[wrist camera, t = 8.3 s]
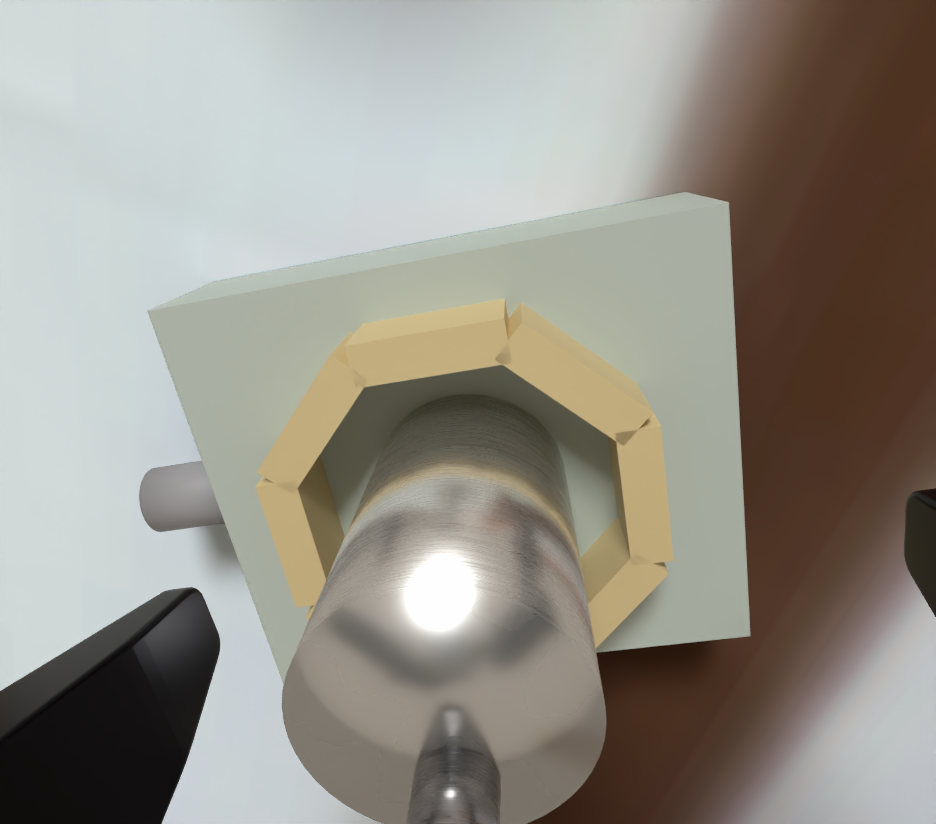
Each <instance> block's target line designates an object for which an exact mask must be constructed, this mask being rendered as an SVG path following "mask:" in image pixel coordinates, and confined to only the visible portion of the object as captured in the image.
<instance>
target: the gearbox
mask: <svg viewBox="0 0 936 824" xmlns="http://www.w3.org/2000/svg"><path fill="white" fill-rule="evenodd" d="M148 314H149V317H150V319H151V322H152V325H153V328H154V330H155V333H156V336H157V339H158V341H159V344H160V347H161V350H162V352H163V355H164V358H165V361H166V363H167V366H168V369H169V372H170V374H171V377H172V380H173V382H174V385H175V388H176V391H177V393H178V396H179V399H180V402H181V404H182V407H183V410H184V413H185V415H186V418H187V421H188V424H189V426H190V429H191V432H192V434H193V437H194V440H195V443H196V445H197V448H198V451H199V454H200V456H201V459H202V461H197V462H190V463H184V464H177V465H171V466H165V467H158V468H153V469H151V470H149V471H148V472H147V473H146V474H145V476H144V478H143V480H142V482H141V486H140V493H139V500H140V507H141V511H142V514H143V517H144V519H145V521H146V522H147V524H148V525H149V526H150V527H151V528H152V529H153V530H155V531H158V532H164V531H171V530H178V529H185V528H192V527H199V526H206V525H213V524H220V523H225V525H226V528H227V530H228V533H229V536H230V539H231V541H232V544H233V547H234V549H235V552H236V555H237V558H238V560H239V563H240V566H241V569H242V571H243V574H244V577H245V580H246V582H247V585H248V588H249V591H250V593H251V596H252V599H253V601H254V604H255V607H256V610H257V612H258V615H259V618H260V621H261V623H262V626H263V629H264V632H265V634H266V637H267V640H268V643H269V645H270V648H271V651H272V653H273V656H274V659H275V662H276V664H277V667H278V670H279V673H280V675H281V678H282V681H283V684H284V682H285V677H286V673H287V671H288V668H289V666H290V664H291V661H292V659H293V656H294V654H295V652H296V649H297V647H298V645H299V642H300V640H301V638H302V635H303V633H304V631H305V629H306V626H307V624H308V622H309V619H310V617H311V615H312V612H313V610H314V608H315V605H316V603H317V601H318V598H319V596H320V594H321V591H322V589H323V587H324V584H325V582H326V580H327V577H328V575H329V573H330V570H331V568H332V566H333V563H334V561H335V559H336V556H337V554H338V552H339V549H340V547H341V545H342V542H343V540H344V538H345V535H346V533H347V531H348V528H349V526H350V524H351V522H352V519H353V517H354V515H355V512H356V510H357V508H358V505H359V503H360V501H361V498H362V496H363V494H364V491H365V489H366V487H367V484H368V482H369V480H370V477H371V475H372V473H373V470H374V468H375V466H376V463H377V461H378V459H379V456H380V454H381V452H382V449H383V447H384V445H385V442H386V441H387V439H388V437H389V436H390V434H391V432H392V431H393V430H394V428H395V427H396V426H397V425H398V424H399V422H401V421H402V420H403V419H404V418H405V417H406V416H407V415H408V414H410V413H411V412H413V411H414V410H415V409H417V408H419V407H420V406H422V405H424V404H426V403H428V402H431V401H434V400H436V399H439V398H443V397H447V396H452V395H461V394H479V395H485V396H492V397H495V398H499V399H502V400H505V401H508V402H510V403H512V404H515V405H517V406H518V407H520V408H522V409H524V410H525V411H527V412H528V413H529V414H531V415H532V416H533V417H535V418H536V419H537V420H538V421H539V422H540V423H541V424H542V425H543V426H544V427H545V428H546V429H547V431H548V432H549V433H550V435H551V436H552V437H553V439H554V441H555V443H556V444H557V446H558V448H559V451H560V453H561V456H562V459H563V463H564V467H565V473H566V479H567V484H568V490H569V496H570V502H571V508H572V514H573V520H574V526H575V531H576V537H577V543H578V549H579V555H580V561H581V567H582V573H583V578H584V584H585V590H586V596H587V602H588V608H589V614H590V619H591V625H592V631H593V637H594V643H595V649H596V653H598V652H607V651H616V650H625V649H635V648H644V647H653V646H662V645H672V644H681V643H690V642H699V641H708V640H718V639H727V638H736V637H745V636H750V620H749V600H748V580H747V560H746V540H745V520H744V500H743V480H742V460H741V440H740V420H739V399H738V379H737V359H736V339H735V319H734V299H733V279H732V259H731V239H730V219H729V202H725V201H721V200H717V199H712V198H708V197H704V196H700V195H695V194H691V193H687V192H683V193H677V194H672V195H667V196H661V197H656V198H651V199H646V200H640V201H635V202H630V203H625V204H619V205H614V206H609V207H604V208H598V209H593V210H588V211H583V212H577V213H572V214H567V215H562V216H556V217H551V218H546V219H541V220H535V221H530V222H525V223H519V224H514V225H509V226H504V227H498V228H493V229H488V230H483V231H477V232H472V233H467V234H462V235H456V236H451V237H446V238H441V239H435V240H430V241H425V242H420V243H414V244H409V245H404V246H399V247H393V248H388V249H383V250H378V251H372V252H367V253H362V254H356V255H351V256H346V257H341V258H335V259H330V260H325V261H320V262H314V263H309V264H304V265H299V266H293V267H288V268H283V269H278V270H272V271H267V272H262V273H257V274H251V275H246V276H241V277H236V278H230V279H225V280H220V281H214V282H212V283H210V284H208V285H205V286H203V287H201V288H198V289H196V290H194V291H192V292H189V293H187V294H185V295H182V296H180V297H178V298H176V299H173V300H171V301H169V302H166V303H164V304H162V305H160V306H157V307H155V308H153V309H151V310H148Z"/></svg>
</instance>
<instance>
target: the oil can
mask: <svg viewBox="0 0 936 824" xmlns="http://www.w3.org/2000/svg"><path fill="white" fill-rule="evenodd" d="M282 711H283V719H284V724H285V728H286V731H287V735H288V738H289V740H290V742H291V745H292V747H293V749H294V751H295V753H296V755H297V756H298V758H299V759H300V761H301V762H302V764H303V766H304V767H305V768H306V770H307V771H308V772H309V773H310V774H311V775H312V777H313V778H314V779H315V780H316V781H317V782H318V783H319V784H320V785H321V786H322V787H323V788H324V789H325V790H327V791H328V792H329V793H330V794H331V795H333V796H334V797H335V798H337V799H338V800H339V801H341V802H342V803H343V804H345V805H347V806H348V807H350V808H352V809H354V810H355V811H357V812H359V813H361V814H363V815H365V816H367V817H369V818H371V819H373V820H376V821H378V822H381V823H384V824H527V823H529V822H531V821H534V820H536V819H538V818H540V817H542V816H544V815H546V814H547V813H549V812H551V811H552V810H554V809H556V808H557V807H559V806H560V805H561V804H562V803H564V802H565V801H566V800H567V799H569V798H570V797H571V796H572V795H573V794H574V793H575V792H576V791H577V790H578V789H579V788H580V787H581V786H582V785H583V784H584V782H585V781H586V779H587V778H588V776H589V775H590V774H591V772H592V771H593V769H594V767H595V765H596V763H597V761H598V759H599V757H600V754H601V751H602V747H603V744H604V740H605V732H606V709H605V702H604V696H603V690H602V684H601V678H600V672H599V666H598V661H597V655H596V649H595V643H594V637H593V631H592V625H591V619H590V614H589V608H588V602H587V596H586V590H585V584H584V578H583V573H582V567H581V561H580V555H579V549H578V543H577V537H576V531H575V526H574V520H573V514H572V508H571V502H570V496H569V490H568V484H567V479H566V473H565V467H564V463H563V459H562V456H561V453H560V451H559V448H558V446H557V444H556V443H555V441H554V439H553V437H552V436H551V435H550V433H549V432H548V431H547V429H546V428H545V427H544V426H543V425H542V424H541V423H540V422H539V421H538V420H537V419H536V418H535V417H533V416H532V415H531V414H529V413H528V412H527V411H525V410H524V409H522V408H520V407H518V406H517V405H515V404H512V403H510V402H508V401H505V400H502V399H499V398H495V397H492V396H485V395H479V394H461V395H452V396H447V397H443V398H439V399H436V400H434V401H431V402H428V403H426V404H424V405H422V406H420V407H419V408H417V409H415V410H414V411H413V412H411V413H410V414H408V415H407V416H406V417H405V418H404V419H403V420H402V421H401V422H399V424H398V425H397V426H396V427H395V428H394V430H393V431H392V432H391V434H390V436H389V437H388V439H387V441H386V442H385V445H384V447H383V449H382V452H381V454H380V456H379V459H378V461H377V463H376V466H375V468H374V470H373V473H372V475H371V477H370V480H369V482H368V484H367V487H366V489H365V491H364V494H363V496H362V498H361V501H360V503H359V505H358V508H357V510H356V512H355V515H354V517H353V519H352V522H351V524H350V526H349V528H348V531H347V533H346V535H345V538H344V540H343V542H342V545H341V547H340V549H339V552H338V554H337V556H336V559H335V561H334V563H333V566H332V568H331V570H330V573H329V575H328V577H327V580H326V582H325V584H324V587H323V589H322V591H321V594H320V596H319V598H318V601H317V603H316V605H315V608H314V610H313V612H312V615H311V617H310V619H309V622H308V624H307V626H306V629H305V631H304V633H303V635H302V638H301V640H300V642H299V645H298V647H297V649H296V652H295V654H294V656H293V659H292V661H291V664H290V666H289V668H288V671H287V673H286V677H285V682H284V686H283V693H282Z"/></svg>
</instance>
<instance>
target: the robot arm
mask: <svg viewBox="0 0 936 824" xmlns="http://www.w3.org/2000/svg"><path fill="white" fill-rule="evenodd" d="M904 556H905V561H906V565H907V568H908V570H909V572H910V574H911V576H912V578H913V579H914V581H915V583H916V584H917V586H918V588H919V589H920V591H921V593H922V595H923V596H924V598H925V600H926V601H927V603H928V605H929V606H930V608H931V610H932V612H933V613H934V615H935V617H936V489H929V490H921V491H915V492H913V493H912V494H911V495H910V496H909V497H908V499H907V502H906V510H905V537H904ZM219 652H220V638H219V634H218V631H217V629H216V626H215V624H214V622H213V619H212V617H211V614H210V612H209V610H208V607H207V605H206V602H205V600H204V598H203V596H202V594H201V592H200V591H199V590H197V589H195V588H193V587H189V588H181V589H173V590H168V591H165V592H163V593H161V594H159V595H157V596H156V597H154V598H153V599H151V600H149V601H148V602H146V603H144V604H143V605H141V606H139V607H138V608H136V609H134V610H133V611H131V612H130V613H128V614H126V615H125V616H123V617H121V618H120V619H118V620H116V621H115V622H113V623H111V624H110V625H108V626H107V627H105V628H103V629H102V630H100V631H98V632H97V633H95V634H93V635H92V636H90V637H88V638H87V639H85V640H84V641H82V642H80V643H79V644H77V645H75V646H74V647H72V648H70V649H69V650H67V651H65V652H64V653H62V654H61V655H59V656H57V657H56V658H54V659H52V660H51V661H49V662H47V663H46V664H44V665H42V666H41V667H39V668H37V669H36V670H34V671H33V672H31V673H29V674H28V675H26V676H24V677H23V678H21V679H19V680H18V681H16V682H14V683H13V684H11V685H10V686H8V687H6V688H5V689H3V690H1V691H0V824H162V821H163V819H164V816H165V814H166V811H167V809H168V806H169V804H170V801H171V799H172V797H173V794H174V792H175V789H176V787H177V784H178V782H179V779H180V777H181V774H182V772H183V769H184V766H185V764H186V761H187V758H188V755H189V752H190V749H191V746H192V743H193V740H194V736H195V733H196V730H197V726H198V723H199V720H200V716H201V713H202V710H203V706H204V703H205V700H206V696H207V693H208V690H209V686H210V683H211V680H212V676H213V673H214V670H215V666H216V663H217V660H218V656H219Z"/></svg>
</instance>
